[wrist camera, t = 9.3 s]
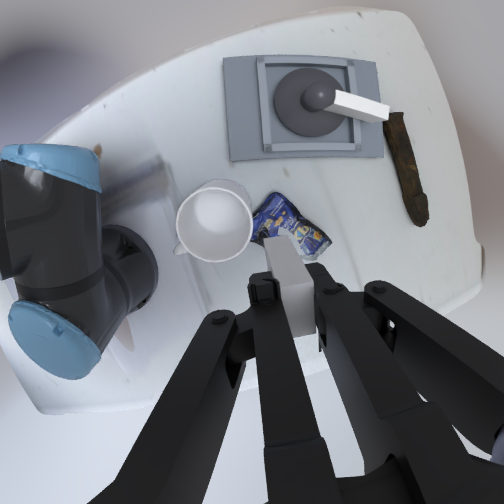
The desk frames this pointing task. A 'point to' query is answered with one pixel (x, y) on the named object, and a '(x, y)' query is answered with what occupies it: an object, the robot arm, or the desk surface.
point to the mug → (215, 222)
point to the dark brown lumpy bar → (407, 168)
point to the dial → (320, 103)
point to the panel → (268, 124)
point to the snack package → (288, 226)
